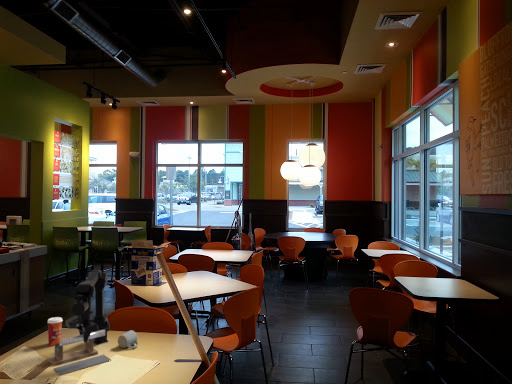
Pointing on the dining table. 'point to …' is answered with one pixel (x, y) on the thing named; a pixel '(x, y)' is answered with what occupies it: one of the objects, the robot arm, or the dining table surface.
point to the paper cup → (54, 330)
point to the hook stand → (72, 353)
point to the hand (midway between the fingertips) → (83, 341)
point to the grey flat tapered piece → (81, 364)
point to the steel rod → (80, 337)
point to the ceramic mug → (128, 340)
